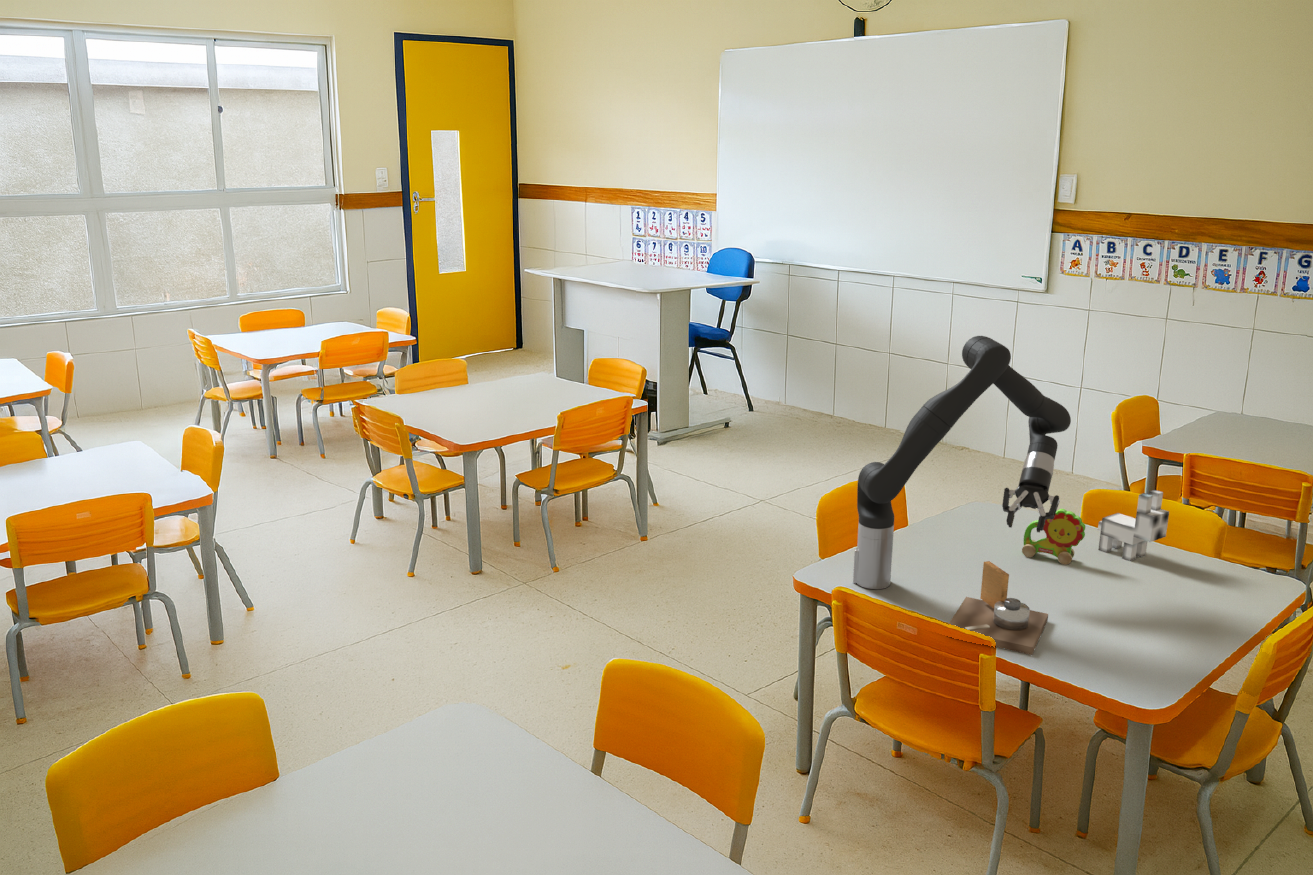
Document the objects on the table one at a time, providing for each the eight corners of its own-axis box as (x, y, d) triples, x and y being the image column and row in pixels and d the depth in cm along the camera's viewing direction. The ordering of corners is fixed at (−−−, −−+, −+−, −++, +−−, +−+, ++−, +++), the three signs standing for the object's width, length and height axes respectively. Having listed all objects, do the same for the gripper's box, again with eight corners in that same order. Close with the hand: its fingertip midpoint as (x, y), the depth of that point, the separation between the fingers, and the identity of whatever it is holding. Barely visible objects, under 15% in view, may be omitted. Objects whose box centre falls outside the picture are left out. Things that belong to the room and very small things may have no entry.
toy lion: (1020, 556, 285) (1025, 506, 281) (1024, 550, 289) (1029, 501, 285) (1079, 567, 276) (1085, 516, 272) (1082, 561, 281) (1088, 511, 277)
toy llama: (1106, 542, 295) (1114, 478, 289) (1162, 561, 280) (1171, 494, 275) (1090, 547, 291) (1098, 482, 285) (1146, 567, 277) (1156, 499, 271)
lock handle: (1035, 627, 237) (1039, 585, 234) (1005, 631, 235) (1009, 589, 232) (996, 599, 252) (1000, 559, 249) (968, 603, 250) (972, 563, 247)
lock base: (945, 635, 238) (945, 626, 238) (965, 603, 255) (966, 595, 254) (1032, 655, 228) (1033, 646, 228) (1047, 621, 245) (1048, 612, 244)
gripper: (1007, 461, 262) (993, 517, 256) (1065, 469, 255) (1052, 527, 249) (1010, 475, 268) (996, 530, 262) (1066, 483, 261) (1054, 540, 255)
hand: (1023, 528), depth 255 cm, fingers open, 6 cm apart
